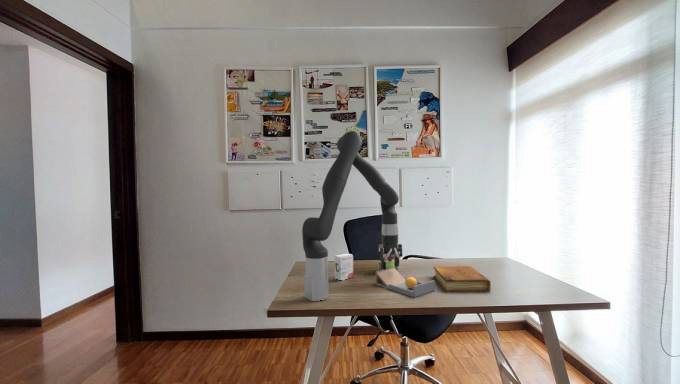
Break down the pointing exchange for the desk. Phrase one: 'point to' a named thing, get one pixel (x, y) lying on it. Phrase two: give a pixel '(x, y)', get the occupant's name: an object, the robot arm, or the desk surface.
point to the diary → (461, 279)
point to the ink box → (343, 266)
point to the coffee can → (388, 261)
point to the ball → (410, 282)
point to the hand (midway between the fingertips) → (390, 267)
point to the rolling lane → (402, 283)
